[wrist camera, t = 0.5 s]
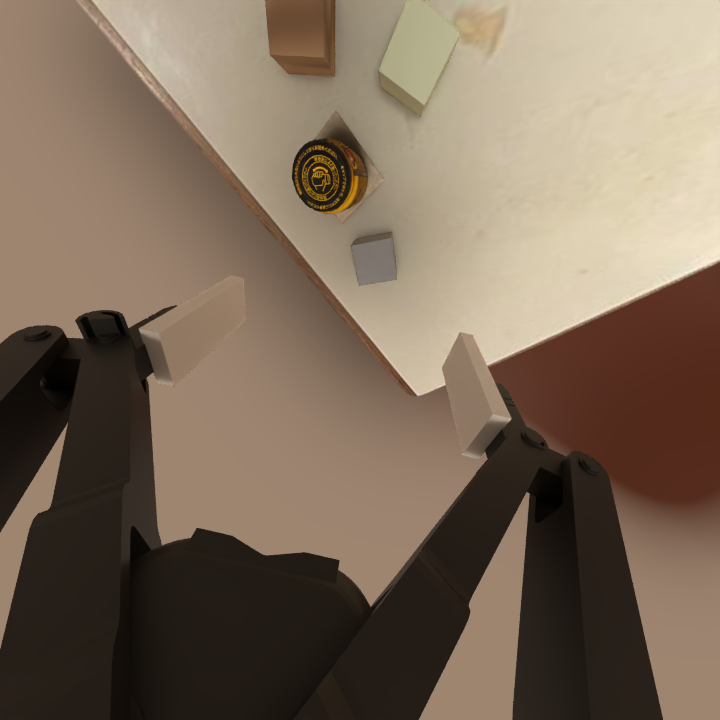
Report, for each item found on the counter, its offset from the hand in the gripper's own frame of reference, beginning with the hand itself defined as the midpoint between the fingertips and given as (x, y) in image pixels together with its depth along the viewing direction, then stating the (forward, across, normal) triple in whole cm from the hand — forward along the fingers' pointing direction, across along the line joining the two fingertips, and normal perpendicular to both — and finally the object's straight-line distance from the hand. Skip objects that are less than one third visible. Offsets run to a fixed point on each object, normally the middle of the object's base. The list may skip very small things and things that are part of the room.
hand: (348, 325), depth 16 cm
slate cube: (+25, 0, -1) cm, 25 cm away
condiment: (+25, -6, +7) cm, 27 cm away
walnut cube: (+25, -11, +17) cm, 32 cm away
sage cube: (+25, 0, +17) cm, 30 cm away
